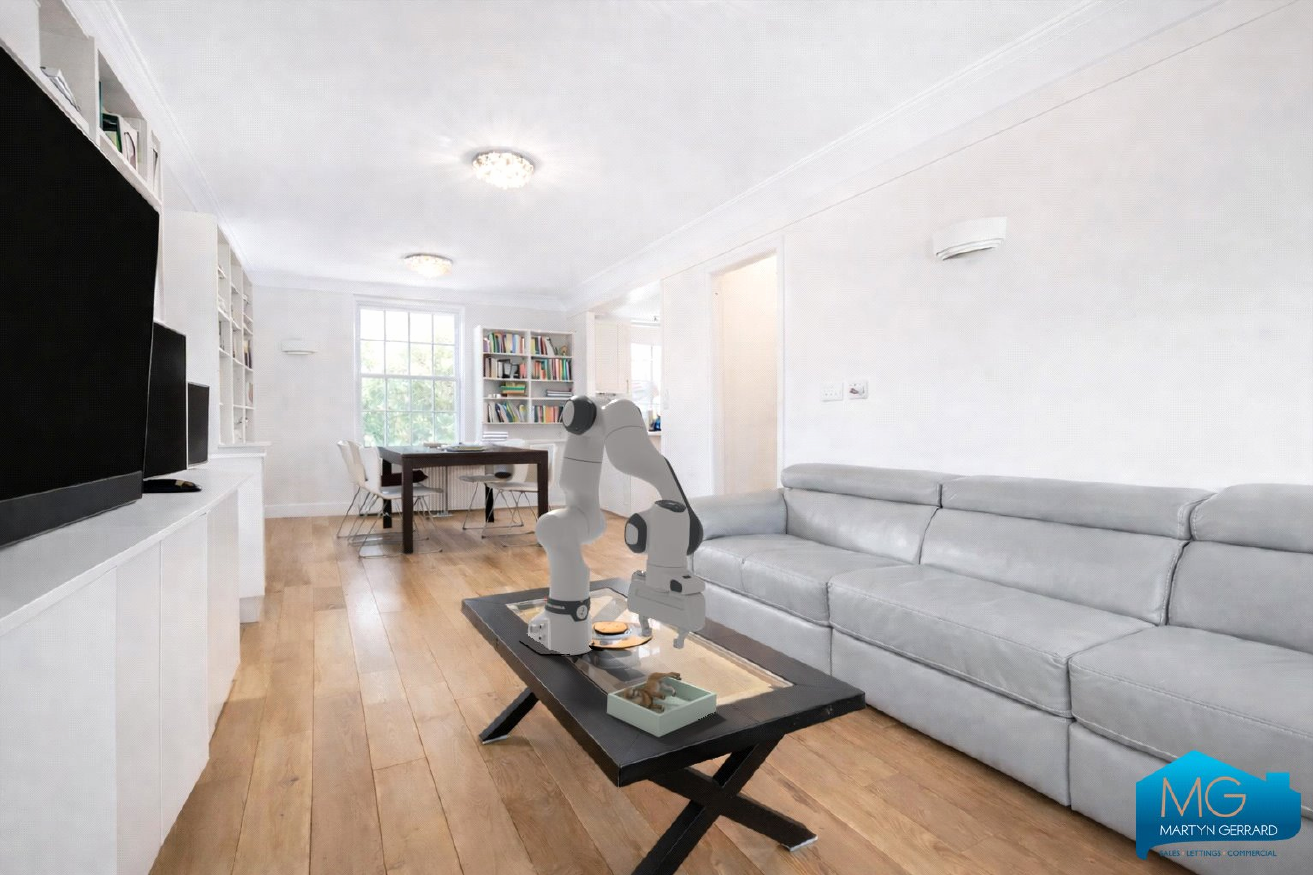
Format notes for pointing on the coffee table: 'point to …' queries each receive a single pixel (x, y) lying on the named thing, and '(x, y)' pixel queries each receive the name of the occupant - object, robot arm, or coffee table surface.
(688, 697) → the box
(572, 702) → the coffee table surface
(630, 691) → the lion figurine
